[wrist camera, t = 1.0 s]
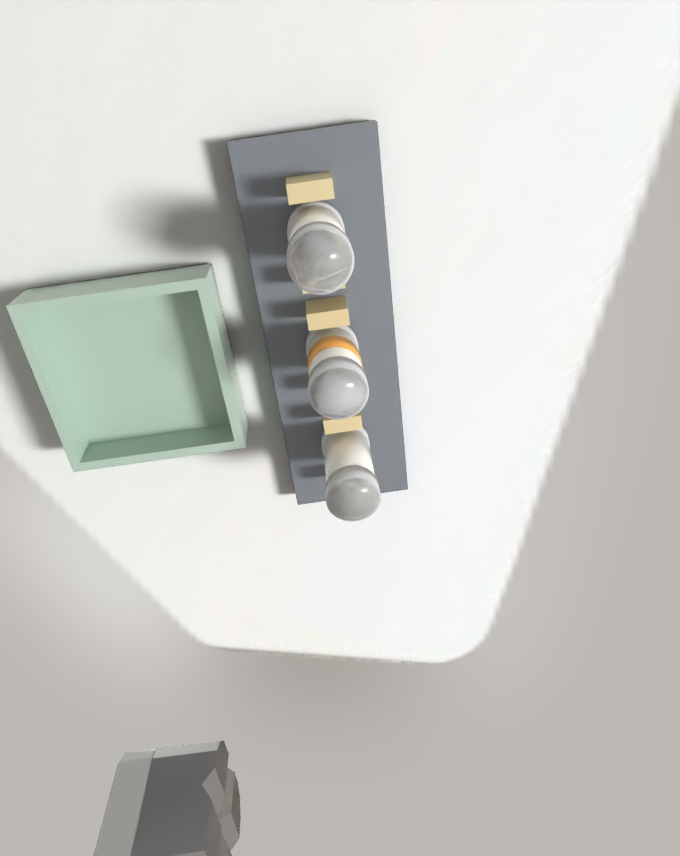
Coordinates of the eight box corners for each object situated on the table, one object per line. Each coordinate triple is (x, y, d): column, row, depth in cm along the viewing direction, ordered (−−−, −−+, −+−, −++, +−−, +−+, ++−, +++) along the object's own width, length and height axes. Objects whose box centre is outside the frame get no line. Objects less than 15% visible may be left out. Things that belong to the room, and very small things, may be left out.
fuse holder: (228, 140, 34) (222, 147, 31) (374, 120, 34) (382, 125, 31) (297, 494, 46) (298, 525, 43) (405, 479, 46) (413, 509, 43)
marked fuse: (302, 322, 38) (304, 370, 32) (353, 314, 38) (365, 361, 32) (309, 369, 40) (313, 423, 34) (359, 362, 40) (371, 415, 34)
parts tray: (25, 289, 37) (5, 306, 35) (211, 263, 37) (205, 277, 35) (86, 447, 43) (73, 472, 40) (248, 424, 43) (245, 447, 40)
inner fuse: (282, 203, 35) (281, 232, 29) (340, 195, 35) (350, 222, 29) (292, 260, 36) (292, 299, 30) (346, 252, 36) (357, 289, 30)
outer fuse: (318, 421, 42) (322, 480, 36) (365, 414, 42) (378, 473, 36) (324, 460, 43) (330, 524, 37) (370, 454, 43) (383, 517, 37)
